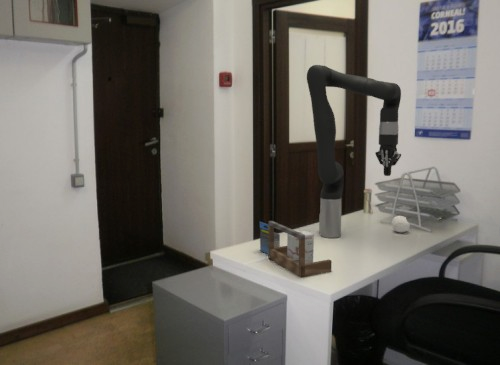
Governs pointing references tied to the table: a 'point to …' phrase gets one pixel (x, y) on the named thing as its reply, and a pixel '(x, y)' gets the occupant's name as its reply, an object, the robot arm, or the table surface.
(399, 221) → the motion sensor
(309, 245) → the ink box
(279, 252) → the frame
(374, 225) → the table surface
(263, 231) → the label tape cartridge
